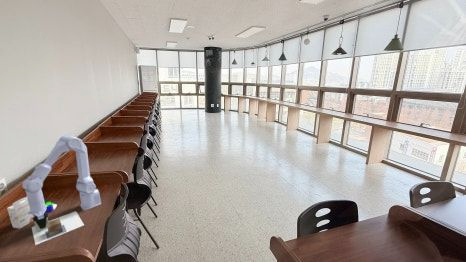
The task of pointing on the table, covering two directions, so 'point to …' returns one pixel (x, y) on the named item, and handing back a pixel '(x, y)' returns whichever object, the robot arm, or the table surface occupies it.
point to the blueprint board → (67, 223)
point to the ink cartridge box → (20, 213)
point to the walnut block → (54, 227)
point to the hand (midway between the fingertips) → (42, 225)
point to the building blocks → (49, 206)
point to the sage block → (38, 226)
